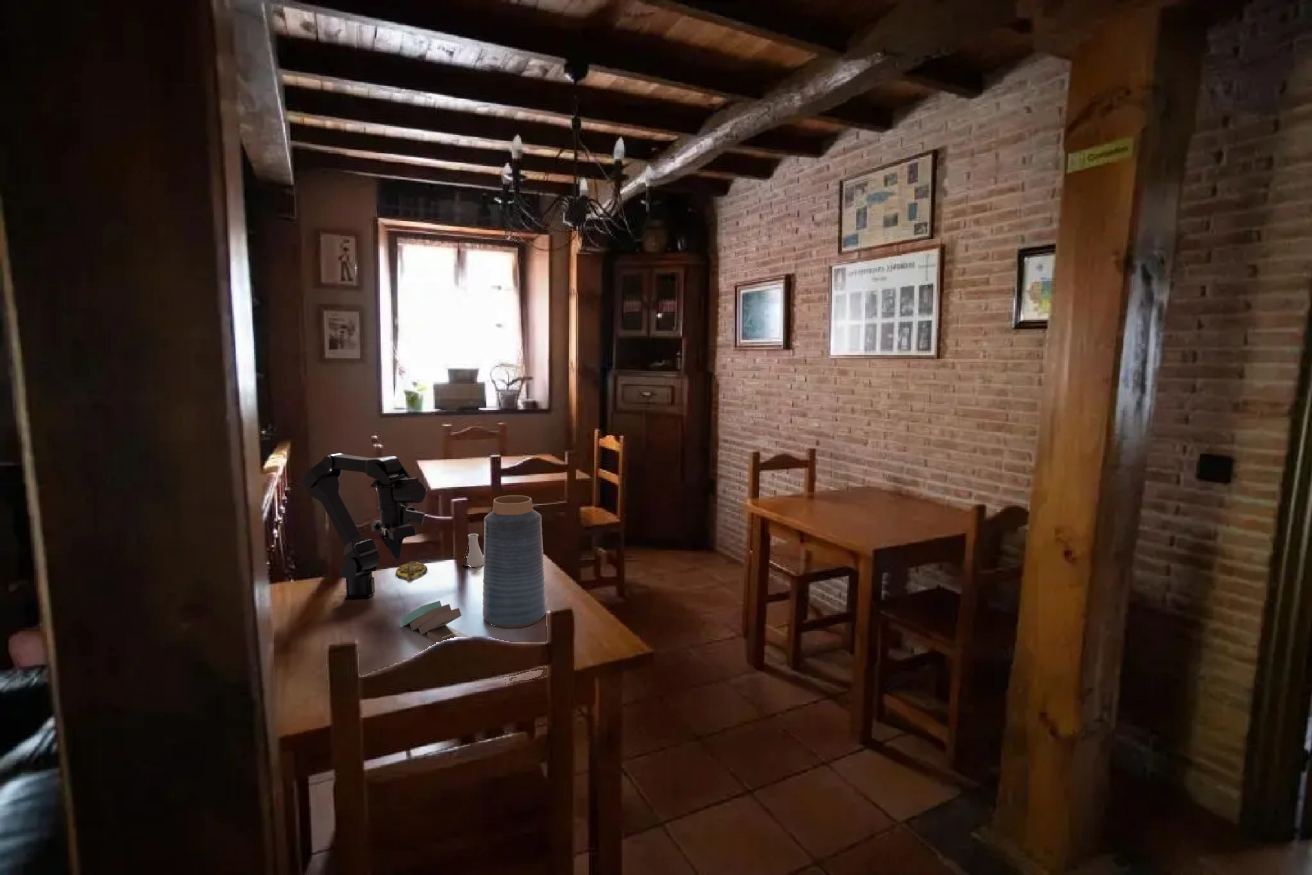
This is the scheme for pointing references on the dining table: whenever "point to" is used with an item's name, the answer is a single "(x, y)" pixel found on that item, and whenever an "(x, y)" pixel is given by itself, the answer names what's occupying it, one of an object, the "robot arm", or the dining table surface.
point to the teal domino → (419, 612)
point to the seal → (411, 571)
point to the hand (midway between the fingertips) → (396, 559)
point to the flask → (474, 552)
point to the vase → (513, 564)
